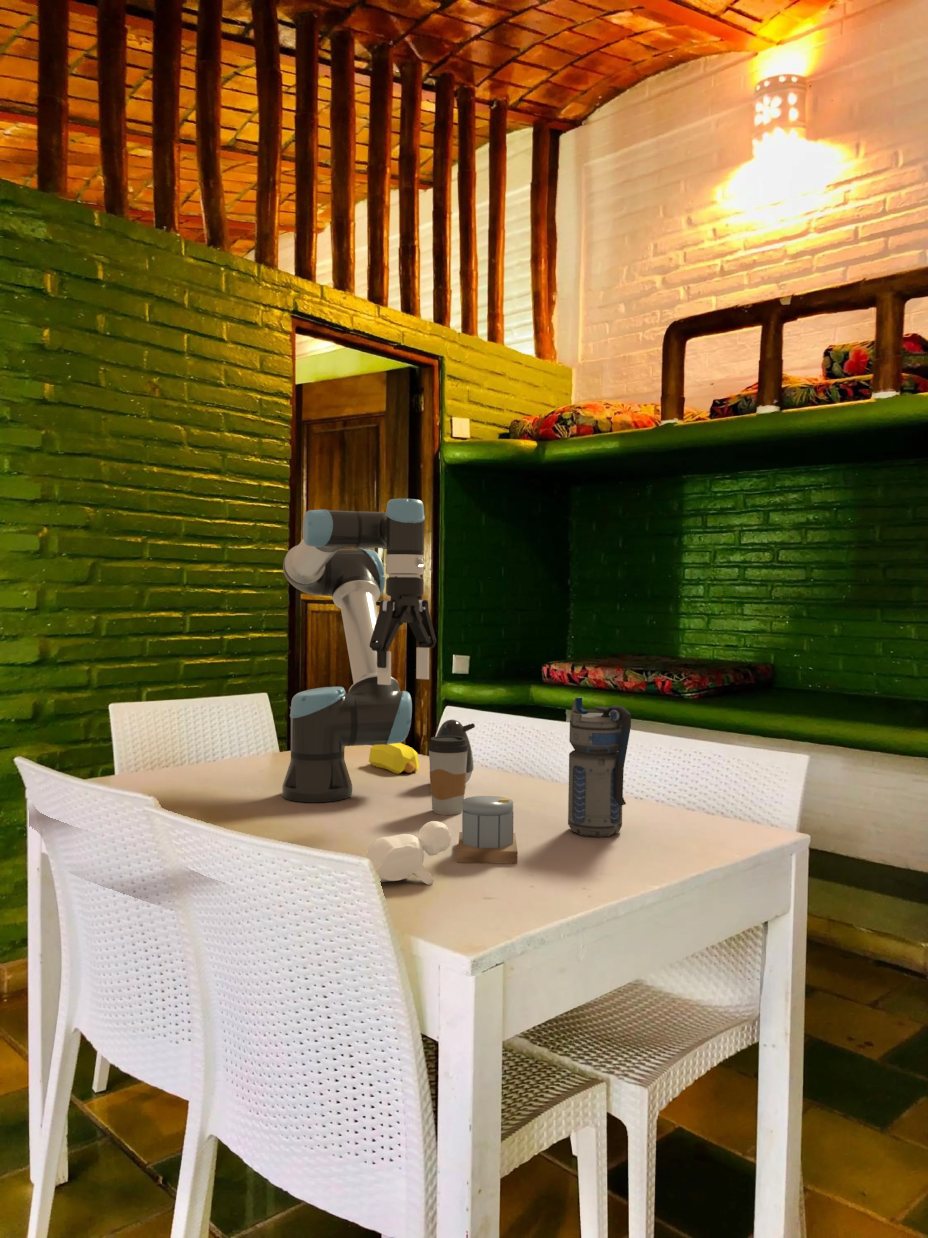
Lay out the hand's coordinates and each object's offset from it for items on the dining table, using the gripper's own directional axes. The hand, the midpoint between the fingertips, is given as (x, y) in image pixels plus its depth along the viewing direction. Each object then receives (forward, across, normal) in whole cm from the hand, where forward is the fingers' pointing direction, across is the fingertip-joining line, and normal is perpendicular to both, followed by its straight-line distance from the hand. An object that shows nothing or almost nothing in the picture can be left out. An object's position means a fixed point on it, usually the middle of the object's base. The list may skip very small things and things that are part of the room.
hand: (404, 681), depth 195 cm
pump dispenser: (+27, +29, +6) cm, 40 cm away
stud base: (+27, -16, -29) cm, 42 cm away
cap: (+25, -16, -29) cm, 41 cm away
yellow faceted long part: (+27, +37, +29) cm, 54 cm away
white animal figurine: (+27, -35, -25) cm, 51 cm away
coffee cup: (+27, +6, -7) cm, 28 cm away
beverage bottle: (+27, +8, -39) cm, 48 cm away
